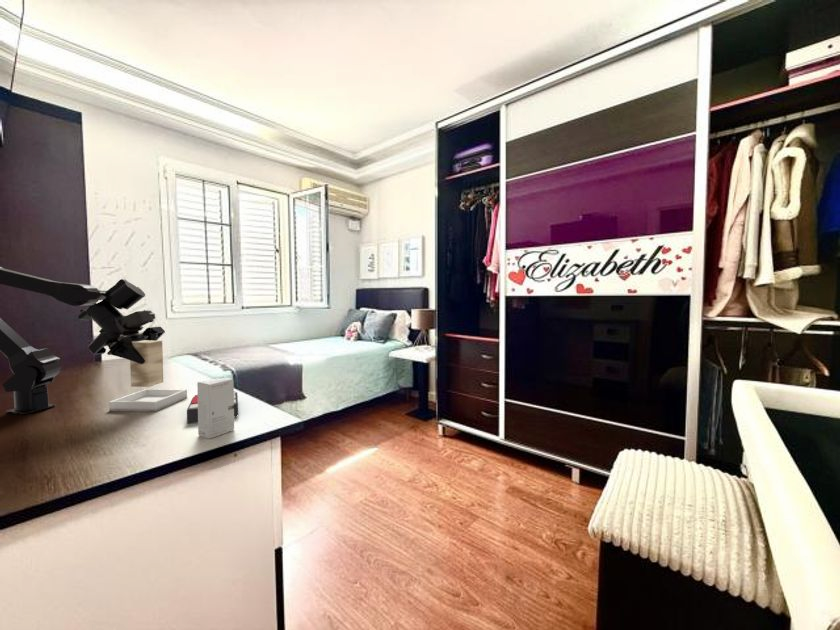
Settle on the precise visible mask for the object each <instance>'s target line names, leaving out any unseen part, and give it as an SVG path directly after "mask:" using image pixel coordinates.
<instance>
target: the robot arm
mask: <svg viewBox="0 0 840 630" xmlns="http://www.w3.org/2000/svg"><path fill="white" fill-rule="evenodd" d="M0 285H3V286H8V287H12V288H15V289H20V290H25V291H28V292H29V291H30V292H34V293H39V294H42V295H46V296H49V297H50V298H53V299H54V300H56V301H59V302H61V303H63V304H66V305H68V306H73V307H80V306H81V307H83V306H88V307H87V308H86V309H80V310H79V314H78V316H77V319H78V320H82V321H91V320H92V321H93V322H95V324H96V325H98V327H99V328H100V329H99V331H98V332H99V333H98V335H97V336H96V337H95V338H94V339H93V340H92V341H91V342H90V343H89V344H88V350H89V352H90V353H91V354H93V356H97V355H103V354H107V355H108V356H114V357H117V358H118V357H119V358H122V359H124V360H128V361H130V360H131V361H134V362H137V363H140V364H143V363H144V362H145V360H144V359H143V357H142V356H141V355H140V354H139V352H138V351H137V350H136V349H135V348H134V347H133V345H132V342H138V341H144V340H154V341H159V339H160V338H161V337H162V336H163V335H164V334H165V333H166V331H165V330H164V329H163V327H161V326H150V327H146V328H145V329H144V325H147V324H149V323H154V320H156V314H155V313H154V311H152V310H150V309H143V310H138V311H134V312H132V313H130V314H127V315H124V314H123V313H122V312H120V310H123V309H125V310H129V309H130V308H132V307H133V306H134V305H136V304H137V303H138V302H139V301H141V300H142V299H143V298H144V297H146V293H145V292H144V290H142V288H140V287H139V286H136V285H135V284H134V283H131V282H129V281H128V280H127V279H122V278H121V279H120V280H118V281H117V282H116V283H115V284H114V285H113V286H112V287H110V288H109V289H107V290H99V289H98V288H97V287H96V286H94V285H91V284H83V283H74V282H73V283H72V282H63V281H62V282H61V281H56V280H52V279H48V278H43V277H40V276H35V275H31V274H27V273H23V272H19V271H16V270H13V269H7V268H4V267H2V266H0ZM143 329H144V331H142V330H143ZM140 331H142V332H140ZM105 347H108V349H109V350H108V351H107V349H106V348H105ZM106 351H107V353H106ZM0 352H1V353H2V354H3V355H4V356H5V357H6V359H8V360H7V361H8V363H9V364H8V365H9V369H10V371H11V372H12V374H13V375H12V376H11V377H10V378H8V379H6V380H5V381H4V382H3V383H2V387H3V389H4V391H5V392H7V393H9V392H13V405H14V406H13V407H14V408H12V409H7V410H5V411H6V413H7V412H12V413H11V414H17V413H19V414H20V415H29V414H31V413H35V411H36V412H39V410H40V411H43V410H42V409H44V410H47V409H50V407H51V408H54V407H56V404H54V403H53V404H52V403H49V392H48V391H49V390H48V384H50V383H51V384H52V383H53V382H54V380H55V377H57V375H59V374H60V372H61V371H62V369H61V368H62V363H61V361H59V360H61V358H60V357H57V356H56V355H55V354H54V353H53V352H52V351H51V349H49V348H47V347H45V348H41V349H37V348H36V347H33V346H31V344H29V342H27V341H26V340H25V339H24V338H23V337H22V336H21V335H20V334H19V333H18V332H16V331H15V330H14V329H13V328H12V327H11V326H9V324H8V323H6V322H5V321H4V320H3V319H2V318H1V317H0ZM46 408H47V409H46ZM19 414H18V415H19Z"/></svg>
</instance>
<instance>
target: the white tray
mask: <svg viewBox="0 0 840 630" xmlns="http://www.w3.org/2000/svg"><path fill="white" fill-rule="evenodd" d="M187 398H188V390H187V389H183V388H182V389H181V388H180V389H179V388H178V389H175V388H173V389H172V388H171V389H169V388H145V389H142V390H139V391H136V392H133V393H131V394H127V395H125V396H121V397H119V398H116V399H113V400H110V401H108V403H109V404H108V405H109V406H108V407H109V408H108V409H109V411H110V412H147V413H148V412H150V413H151V412H152V413H153V412H155V413H156V412H157V411H158V412H159V411H160V410H163V409H164V408H167V407H169V406H171V405H174V404H176V403H179V402H181V401H182V400H185V399H187Z"/></svg>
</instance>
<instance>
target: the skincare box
mask: <svg viewBox="0 0 840 630" xmlns="http://www.w3.org/2000/svg"><path fill="white" fill-rule="evenodd" d="M196 385H197V386H196V387H197V395H198V422H197V431H198V432H197V434H198V436H199V437H202V438H205V439H208V440H209V439H210V440H211V439H213V438H215V437H218V436H221V435H223V434H226V433H230V432H232V431H234V430H235V417H234V391H235V390H234V388H235V386H234V378H231V377H224V376H223V377H222V376H221V377H217V378H211V379H207V380H202V381H197V383H196ZM229 431H230V432H229Z"/></svg>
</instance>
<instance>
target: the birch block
mask: <svg viewBox="0 0 840 630" xmlns="http://www.w3.org/2000/svg"><path fill="white" fill-rule="evenodd" d="M132 345H133V347H134V348H135V349H136V350H137V351H138V352H139V354H140V355H141V356H142V357H143V359H144V360H145V362H144V363H143V364H140V363H137V362H134V361H131V360H129V361H130V362H129V366H130V387H133V388H134V387H138V388H142V387H143V388H144V387H145V388H150V387H153V386H156V385H158V384H159V385H160V384H162V383H164V361H163V360H164V358H163V355H164V354H163V353H164V351H163V350H164V349H163V340H157V341H154V340H144V341H138V342H132Z"/></svg>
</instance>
